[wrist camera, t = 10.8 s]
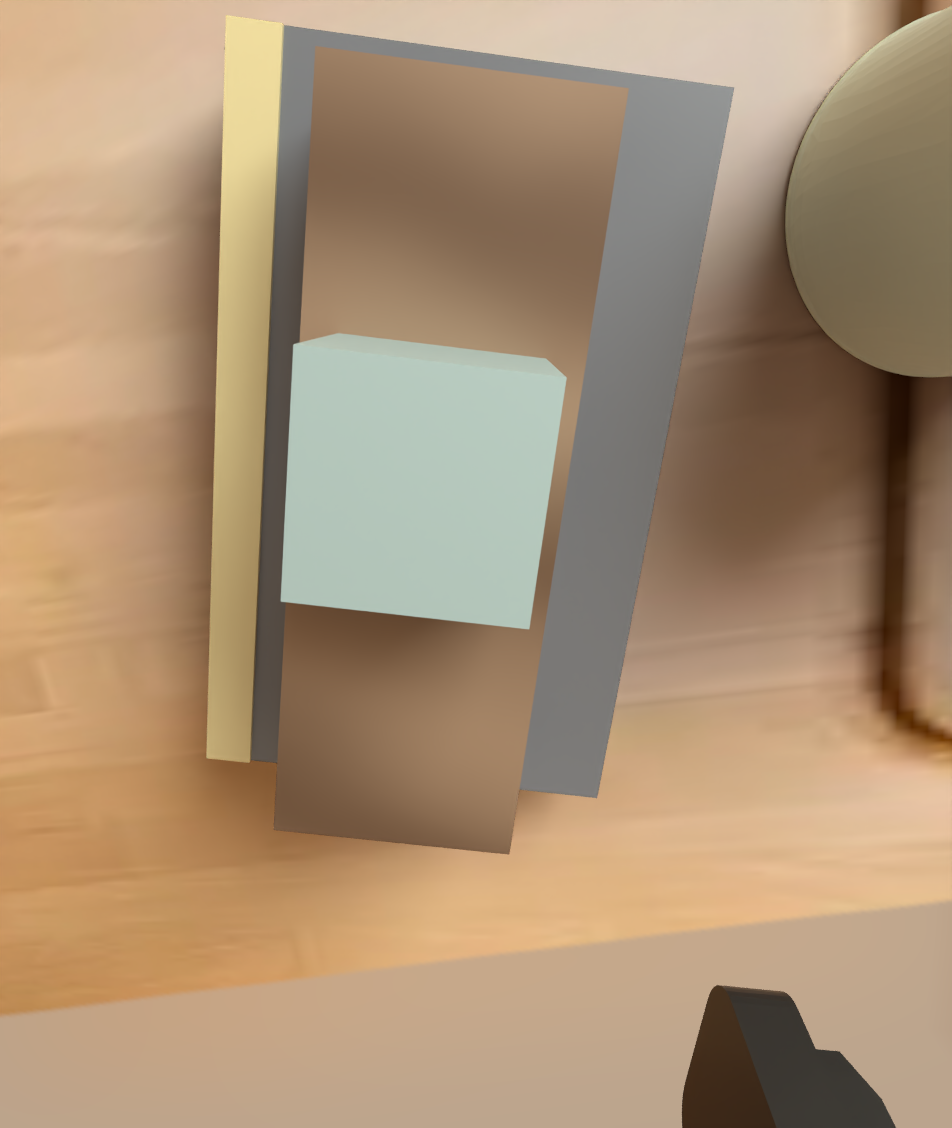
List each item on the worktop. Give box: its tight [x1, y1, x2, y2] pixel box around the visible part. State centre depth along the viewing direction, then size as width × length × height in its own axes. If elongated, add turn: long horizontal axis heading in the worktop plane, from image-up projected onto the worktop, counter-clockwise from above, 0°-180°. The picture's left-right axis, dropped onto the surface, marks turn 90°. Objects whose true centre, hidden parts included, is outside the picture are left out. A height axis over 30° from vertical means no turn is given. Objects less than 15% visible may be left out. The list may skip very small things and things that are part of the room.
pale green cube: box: [281, 333, 567, 629], centre depth 15 cm, size 4×4×4 cm
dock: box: [206, 15, 734, 798], centre depth 22 cm, size 18×11×4 cm, turn 173°
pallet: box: [274, 46, 629, 854], centre depth 19 cm, size 16×6×4 cm, turn 173°
